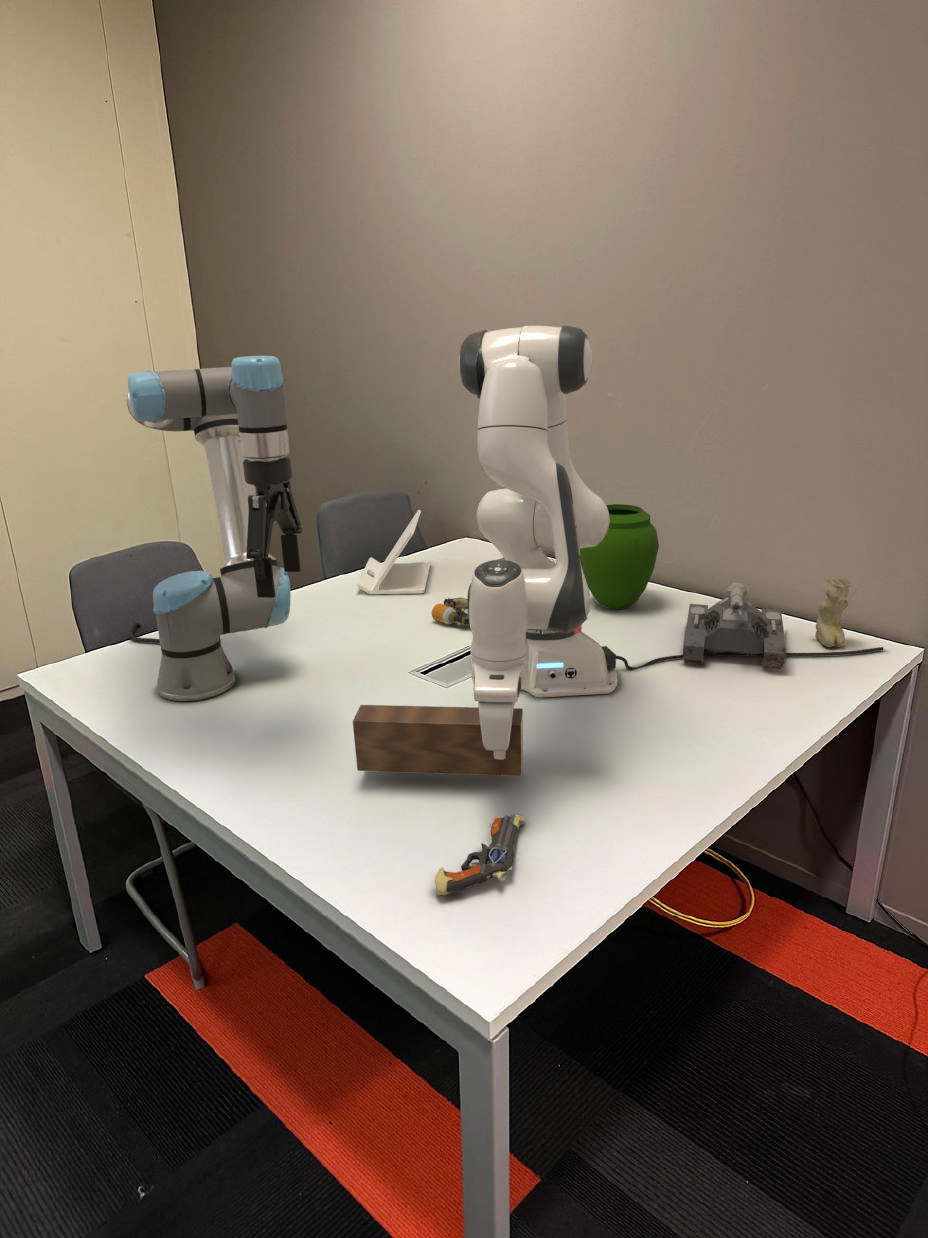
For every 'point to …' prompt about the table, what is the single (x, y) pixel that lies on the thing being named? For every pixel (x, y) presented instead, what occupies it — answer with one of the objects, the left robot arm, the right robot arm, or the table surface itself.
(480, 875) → the toy gun
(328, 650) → the table surface
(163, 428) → the left robot arm
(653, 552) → the vase
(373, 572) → the tablet stand
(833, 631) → the sculpture
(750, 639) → the toy
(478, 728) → the bar
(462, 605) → the spray gun
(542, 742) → the table surface
